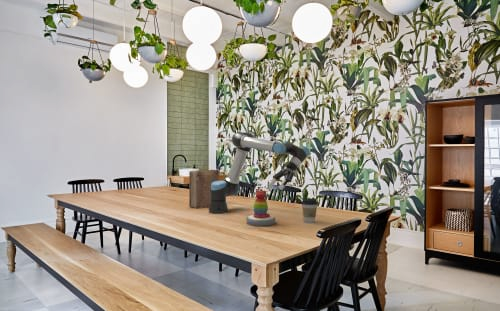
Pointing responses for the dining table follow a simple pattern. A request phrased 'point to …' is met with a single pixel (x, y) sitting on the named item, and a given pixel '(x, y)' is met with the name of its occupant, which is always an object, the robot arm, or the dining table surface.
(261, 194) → the stacking bear
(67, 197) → the dining table surface
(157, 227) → the dining table surface
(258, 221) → the pedestal
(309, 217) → the coffee cup
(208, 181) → the book
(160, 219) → the dining table surface
